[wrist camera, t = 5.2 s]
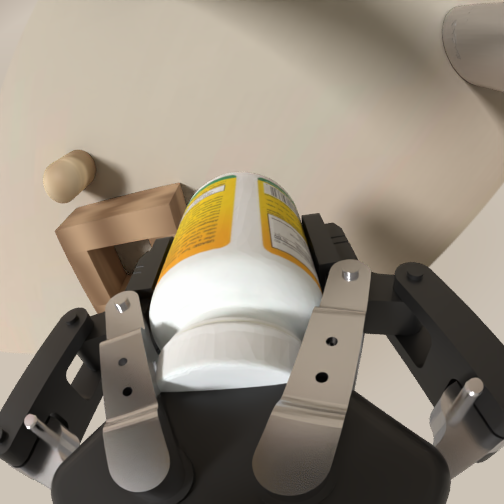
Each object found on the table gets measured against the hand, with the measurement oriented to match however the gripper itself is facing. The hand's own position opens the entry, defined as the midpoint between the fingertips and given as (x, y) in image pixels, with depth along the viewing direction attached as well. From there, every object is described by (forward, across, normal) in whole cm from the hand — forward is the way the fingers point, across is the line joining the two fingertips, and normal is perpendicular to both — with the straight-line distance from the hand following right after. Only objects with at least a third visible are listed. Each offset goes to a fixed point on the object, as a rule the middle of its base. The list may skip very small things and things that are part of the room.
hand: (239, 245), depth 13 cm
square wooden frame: (+16, +12, +8) cm, 22 cm away
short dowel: (+16, +16, -2) cm, 23 cm away
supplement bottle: (+2, 0, 0) cm, 2 cm away
